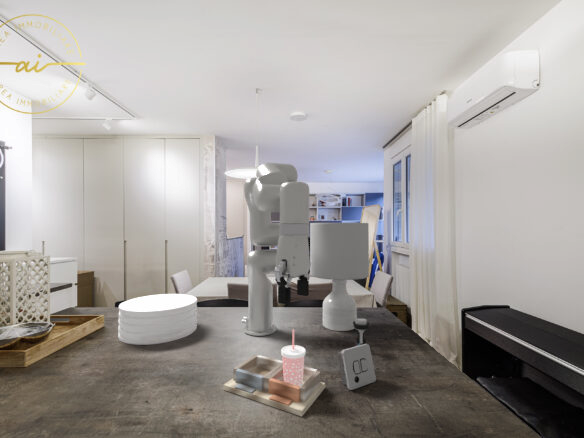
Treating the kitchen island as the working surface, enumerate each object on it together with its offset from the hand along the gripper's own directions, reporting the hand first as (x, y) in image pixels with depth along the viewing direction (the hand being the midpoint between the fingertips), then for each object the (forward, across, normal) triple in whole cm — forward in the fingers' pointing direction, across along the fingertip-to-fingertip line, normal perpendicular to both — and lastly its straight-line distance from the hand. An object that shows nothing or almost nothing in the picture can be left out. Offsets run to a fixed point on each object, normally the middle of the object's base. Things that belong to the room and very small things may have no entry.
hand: (294, 299), depth 74 cm
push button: (+23, -31, +8) cm, 39 cm away
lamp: (+23, -52, -7) cm, 57 cm away
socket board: (+22, +2, -4) cm, 23 cm away
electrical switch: (+23, -11, +12) cm, 28 cm away
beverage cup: (+21, +1, 0) cm, 21 cm away
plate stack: (+23, -12, -66) cm, 71 cm away
